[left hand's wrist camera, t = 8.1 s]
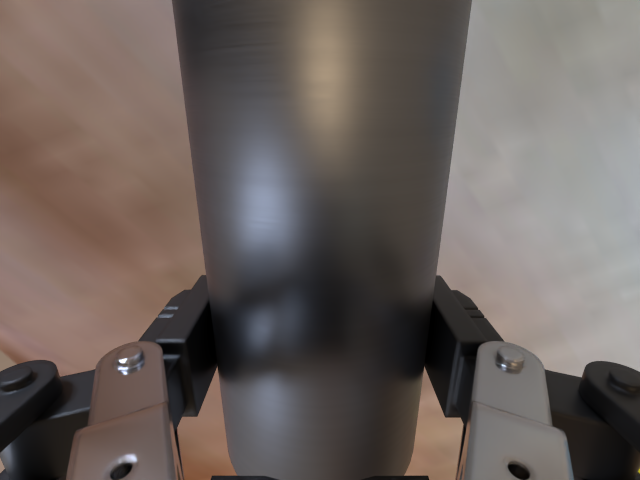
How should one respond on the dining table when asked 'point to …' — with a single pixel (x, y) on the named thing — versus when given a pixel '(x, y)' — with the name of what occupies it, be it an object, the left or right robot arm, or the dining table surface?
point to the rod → (321, 218)
